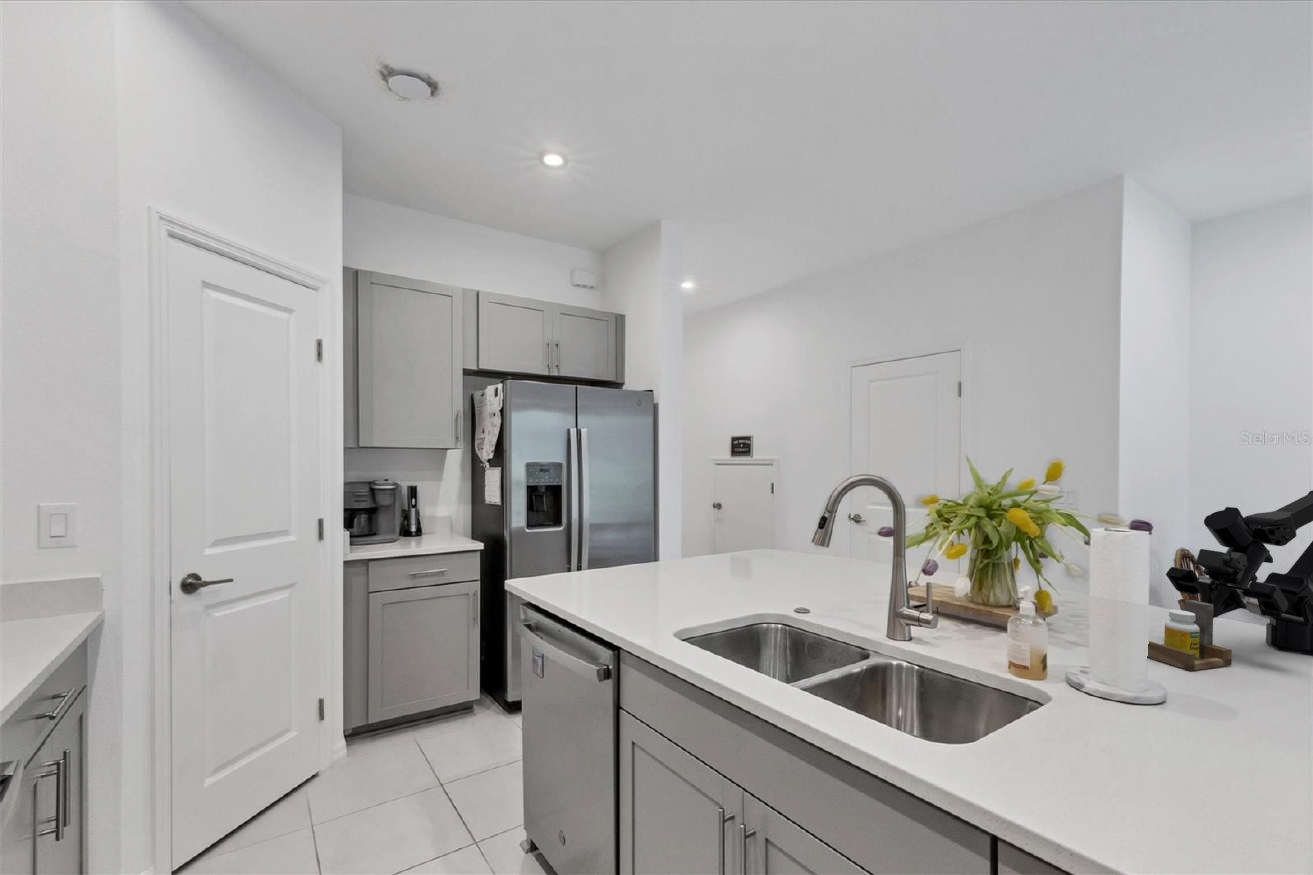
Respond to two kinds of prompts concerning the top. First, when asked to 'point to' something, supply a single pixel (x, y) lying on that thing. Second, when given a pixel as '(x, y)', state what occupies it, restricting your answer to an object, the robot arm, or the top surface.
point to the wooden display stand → (1207, 651)
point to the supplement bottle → (1182, 632)
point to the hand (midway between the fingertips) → (1203, 618)
